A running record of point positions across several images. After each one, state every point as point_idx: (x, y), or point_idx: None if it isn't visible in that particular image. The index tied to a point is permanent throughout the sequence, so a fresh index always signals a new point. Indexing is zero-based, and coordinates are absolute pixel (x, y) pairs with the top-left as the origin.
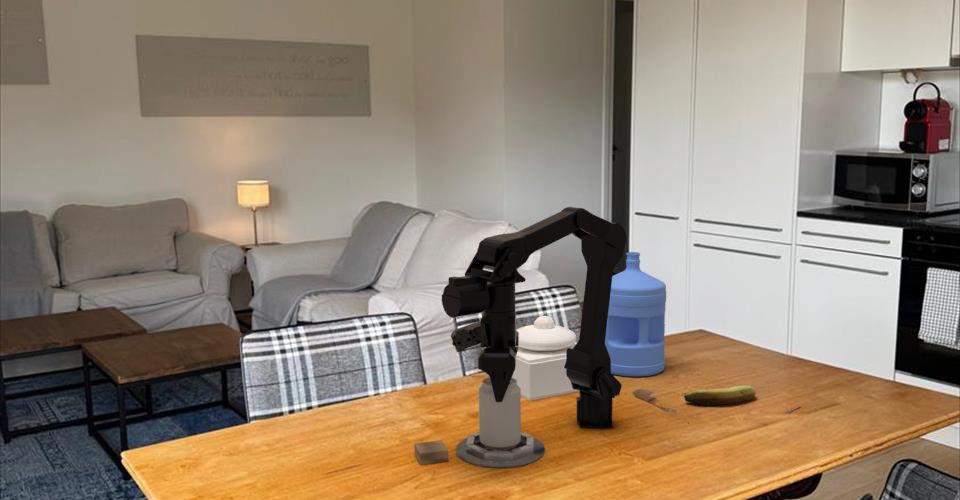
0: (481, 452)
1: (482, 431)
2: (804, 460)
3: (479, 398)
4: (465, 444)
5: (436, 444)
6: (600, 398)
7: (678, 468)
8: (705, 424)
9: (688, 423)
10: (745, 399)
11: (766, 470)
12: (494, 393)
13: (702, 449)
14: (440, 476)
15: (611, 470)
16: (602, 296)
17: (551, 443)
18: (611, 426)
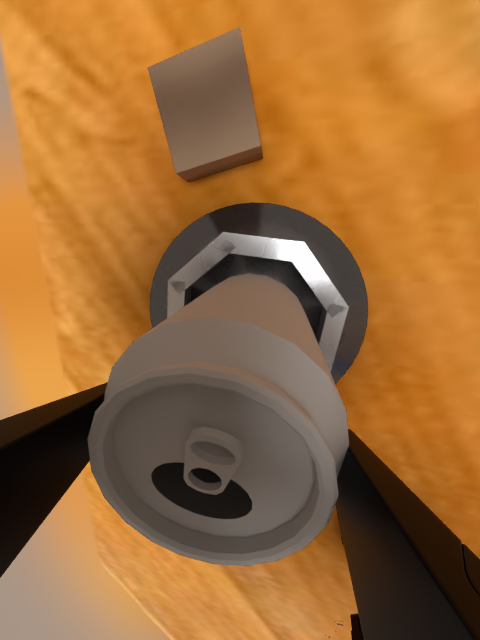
0: (177, 273)
1: (215, 286)
2: None
3: (208, 305)
4: (287, 232)
5: (224, 127)
6: (356, 615)
7: (163, 549)
8: (329, 636)
9: (339, 624)
10: None
11: (160, 613)
12: (60, 401)
13: (229, 594)
14: (98, 161)
15: None
16: None
17: None
18: (342, 540)
